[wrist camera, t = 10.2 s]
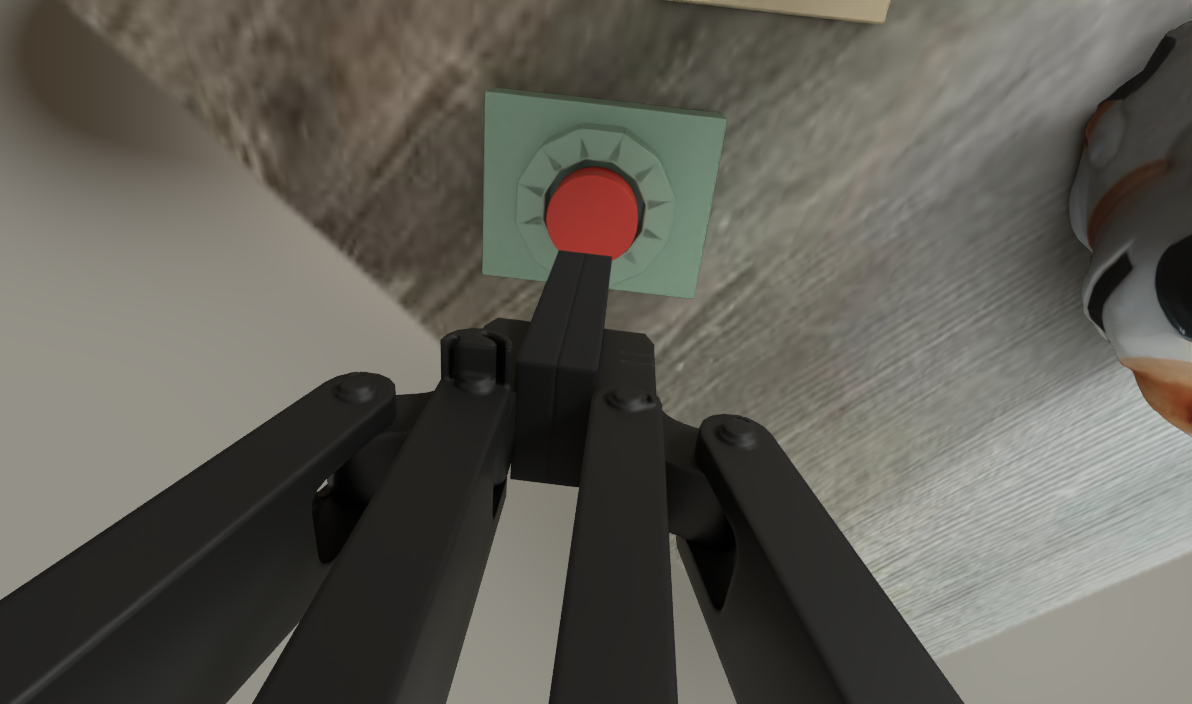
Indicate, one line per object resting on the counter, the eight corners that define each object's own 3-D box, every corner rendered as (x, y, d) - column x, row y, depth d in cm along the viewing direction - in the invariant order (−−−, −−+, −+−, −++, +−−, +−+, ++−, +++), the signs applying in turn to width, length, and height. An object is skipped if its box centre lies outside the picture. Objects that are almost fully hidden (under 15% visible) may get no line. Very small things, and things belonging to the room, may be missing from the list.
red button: (548, 247, 26) (543, 260, 25) (554, 161, 25) (549, 169, 23) (631, 256, 26) (631, 270, 25) (643, 171, 25) (643, 180, 23)
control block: (491, 259, 31) (472, 289, 27) (495, 86, 27) (474, 94, 23) (689, 282, 31) (696, 315, 27) (721, 113, 27) (734, 124, 23)
